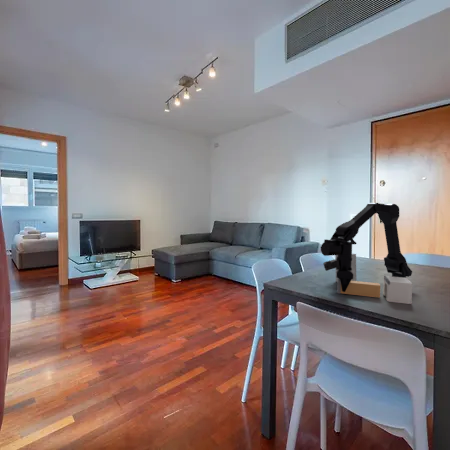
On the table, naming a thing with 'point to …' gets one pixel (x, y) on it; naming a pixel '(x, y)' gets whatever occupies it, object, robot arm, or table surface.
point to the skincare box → (352, 267)
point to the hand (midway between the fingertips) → (343, 290)
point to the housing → (397, 289)
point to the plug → (360, 288)
